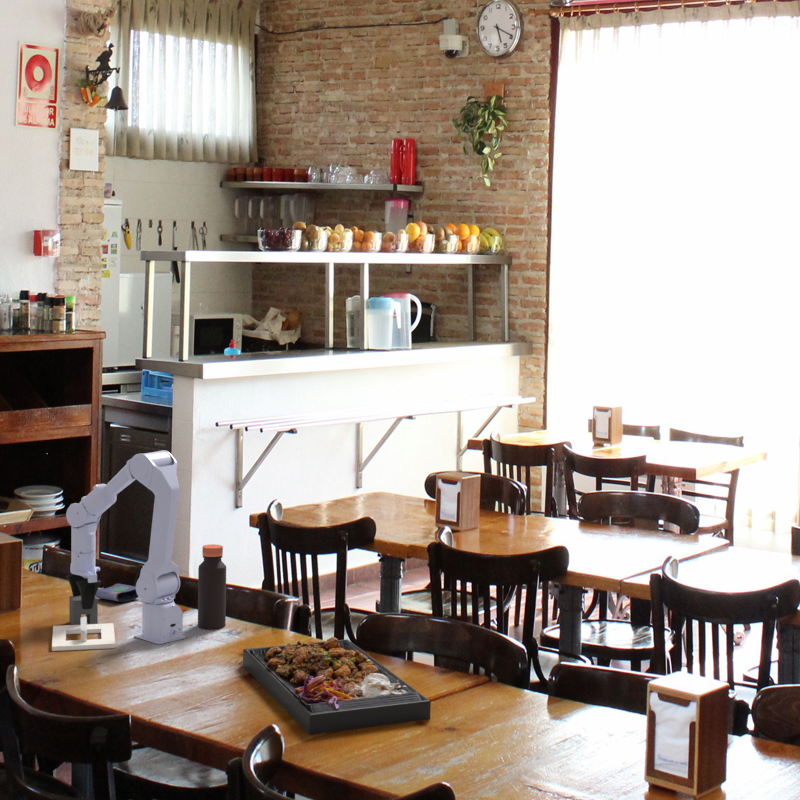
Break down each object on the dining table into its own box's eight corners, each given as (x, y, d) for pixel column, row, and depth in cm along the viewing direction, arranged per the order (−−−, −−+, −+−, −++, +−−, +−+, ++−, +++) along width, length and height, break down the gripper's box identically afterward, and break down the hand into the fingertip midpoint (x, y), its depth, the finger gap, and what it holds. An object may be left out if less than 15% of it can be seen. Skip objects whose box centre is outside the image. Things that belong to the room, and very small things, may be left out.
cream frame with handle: (115, 647, 275) (115, 632, 275) (51, 651, 271) (51, 635, 271) (113, 627, 292) (113, 612, 292) (53, 629, 288) (53, 615, 288)
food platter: (430, 723, 232) (431, 671, 231) (309, 738, 222) (310, 684, 222) (347, 658, 273) (348, 613, 272) (242, 668, 264) (243, 622, 263)
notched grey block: (93, 620, 299) (93, 594, 298) (97, 625, 294) (97, 598, 294) (69, 622, 296) (69, 596, 296) (73, 627, 292) (73, 601, 291)
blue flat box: (116, 593, 312) (89, 589, 319) (117, 604, 313) (90, 600, 319) (143, 585, 320) (116, 581, 326) (144, 596, 320) (116, 592, 326)
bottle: (223, 630, 291) (224, 549, 290) (195, 630, 291) (196, 548, 290) (227, 623, 298) (228, 544, 297) (200, 622, 298) (201, 543, 297)
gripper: (109, 555, 290) (109, 610, 291) (90, 544, 302) (89, 597, 303) (80, 557, 286) (80, 613, 287) (62, 546, 298) (62, 600, 299)
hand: (83, 605), depth 295 cm, fingers open, 6 cm apart
